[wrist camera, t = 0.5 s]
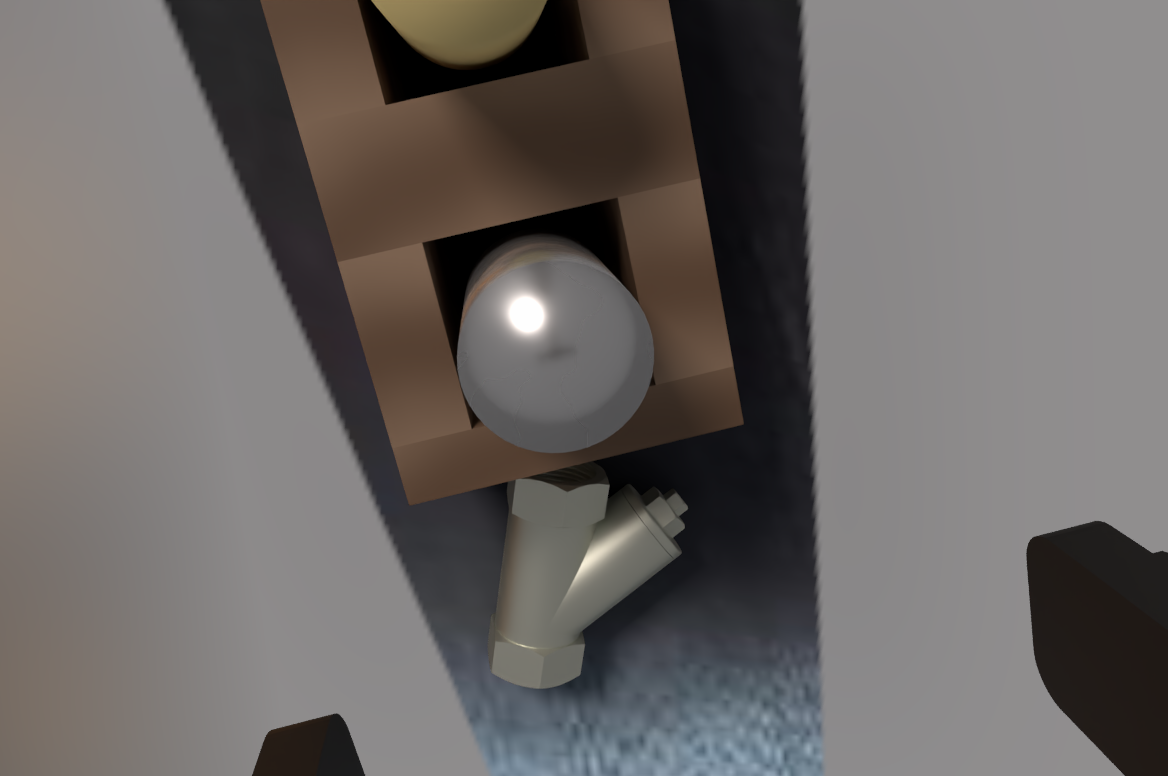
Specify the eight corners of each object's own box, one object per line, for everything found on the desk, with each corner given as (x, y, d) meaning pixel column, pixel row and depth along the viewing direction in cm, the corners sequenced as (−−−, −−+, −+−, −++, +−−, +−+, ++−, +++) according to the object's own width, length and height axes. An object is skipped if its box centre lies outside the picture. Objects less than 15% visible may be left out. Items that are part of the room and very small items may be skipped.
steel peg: (448, 247, 27) (434, 286, 20) (593, 213, 27) (632, 240, 20) (484, 387, 28) (484, 473, 21) (623, 354, 28) (670, 427, 21)
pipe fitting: (678, 459, 36) (508, 447, 35) (707, 497, 33) (519, 485, 31) (646, 640, 38) (485, 634, 37) (671, 694, 35) (492, 691, 33)
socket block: (279, -102, 29) (205, -188, 22) (585, -168, 30) (619, -275, 22) (426, 423, 34) (409, 505, 26) (686, 360, 35) (743, 424, 27)
